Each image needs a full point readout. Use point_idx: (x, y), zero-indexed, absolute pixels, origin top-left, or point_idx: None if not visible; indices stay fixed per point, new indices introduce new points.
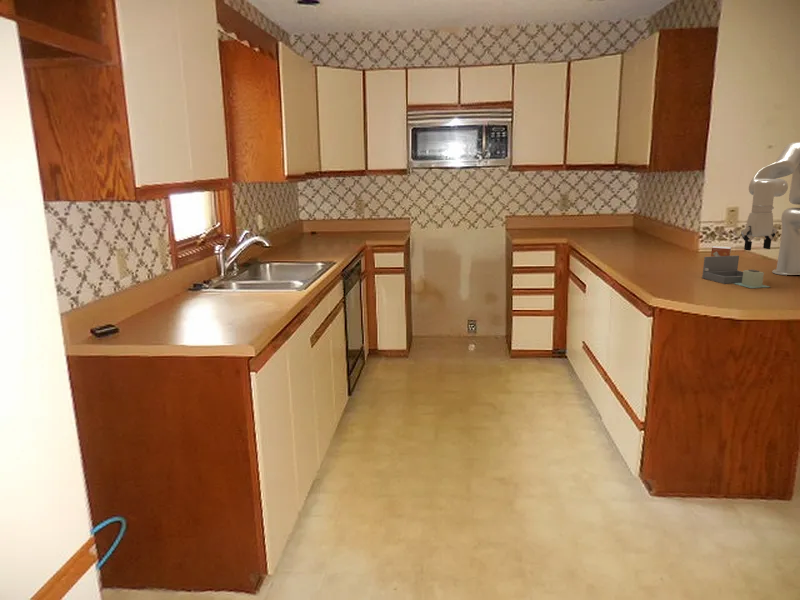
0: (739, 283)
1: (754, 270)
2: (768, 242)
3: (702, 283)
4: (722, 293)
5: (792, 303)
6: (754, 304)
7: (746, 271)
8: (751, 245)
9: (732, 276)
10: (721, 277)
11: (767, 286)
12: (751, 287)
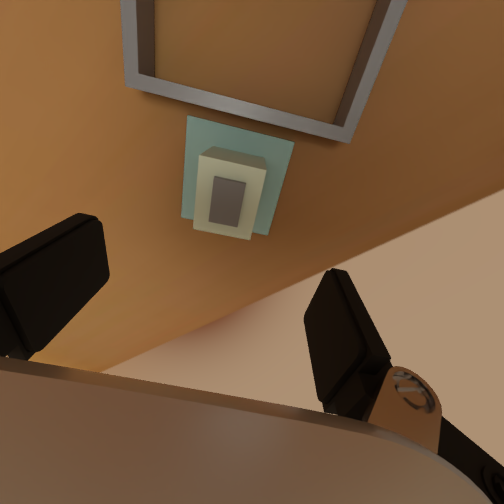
0: (209, 135)
1: (225, 208)
2: (317, 368)
3: (28, 12)
4: (20, 226)
5: (140, 352)
6: None
7: (197, 178)
8: (76, 313)
9: (187, 90)
10: (126, 56)
11: (261, 228)
12: (188, 215)
